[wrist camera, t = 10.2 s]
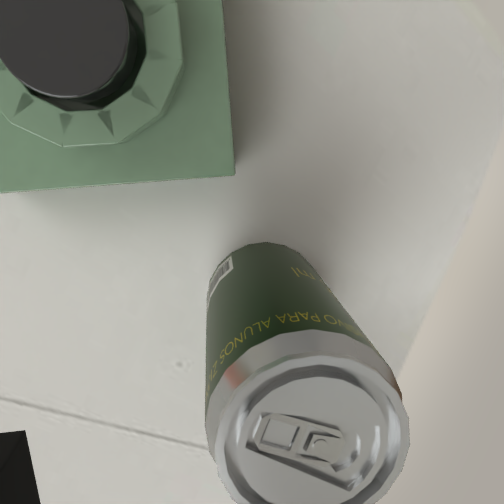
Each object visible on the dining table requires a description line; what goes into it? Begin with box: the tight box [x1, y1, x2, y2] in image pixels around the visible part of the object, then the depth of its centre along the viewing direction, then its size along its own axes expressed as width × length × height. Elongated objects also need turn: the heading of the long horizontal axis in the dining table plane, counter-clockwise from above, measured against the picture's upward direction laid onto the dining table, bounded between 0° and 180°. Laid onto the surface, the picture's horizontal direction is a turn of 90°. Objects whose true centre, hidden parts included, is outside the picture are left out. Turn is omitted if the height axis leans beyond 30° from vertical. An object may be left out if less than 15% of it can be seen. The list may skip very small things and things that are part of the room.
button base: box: [0, 0, 235, 193], centre depth 18 cm, size 10×10×5 cm
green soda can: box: [205, 242, 410, 504], centre depth 18 cm, size 5×5×12 cm
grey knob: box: [0, 0, 138, 102], centre depth 15 cm, size 4×4×2 cm
